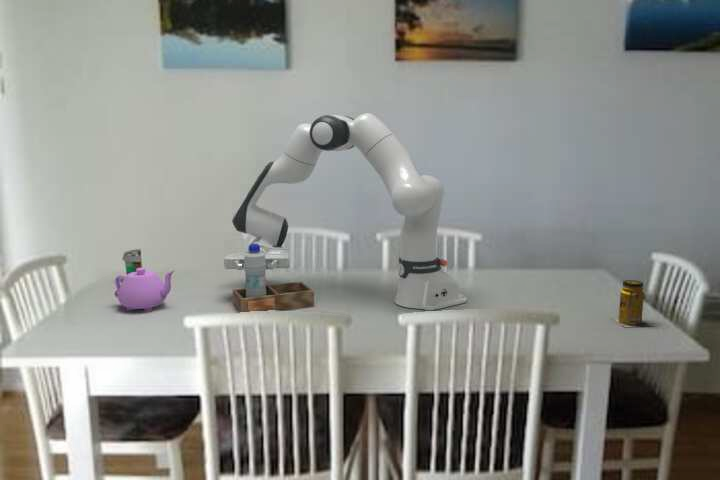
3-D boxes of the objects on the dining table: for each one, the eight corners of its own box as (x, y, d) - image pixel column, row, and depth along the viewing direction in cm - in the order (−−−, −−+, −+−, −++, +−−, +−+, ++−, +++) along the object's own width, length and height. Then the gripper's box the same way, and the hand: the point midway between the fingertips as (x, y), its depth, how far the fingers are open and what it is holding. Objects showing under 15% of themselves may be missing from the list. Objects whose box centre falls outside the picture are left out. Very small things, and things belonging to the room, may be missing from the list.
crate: (302, 296, 211) (301, 281, 210) (314, 306, 201) (314, 291, 200) (233, 305, 203) (232, 289, 202) (242, 316, 192) (241, 300, 191)
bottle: (263, 311, 196) (261, 246, 192) (242, 310, 197) (239, 245, 193) (270, 305, 202) (268, 241, 198) (250, 304, 204) (247, 240, 200)
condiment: (612, 319, 188) (615, 278, 185) (640, 318, 189) (644, 278, 186) (624, 327, 181) (628, 285, 178) (654, 326, 182) (658, 284, 179)
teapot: (186, 301, 207) (184, 263, 205) (167, 315, 193) (165, 275, 191) (126, 299, 210) (123, 262, 207) (103, 312, 196) (100, 273, 193)
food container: (124, 276, 237) (122, 249, 235) (142, 275, 238) (140, 248, 236) (123, 285, 225) (121, 257, 223) (142, 284, 227) (140, 256, 225)
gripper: (226, 247, 211) (219, 257, 198) (290, 246, 212) (288, 256, 199) (227, 266, 212) (220, 277, 199) (290, 265, 214) (288, 276, 200)
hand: (255, 267), depth 199 cm, fingers open, 8 cm apart
